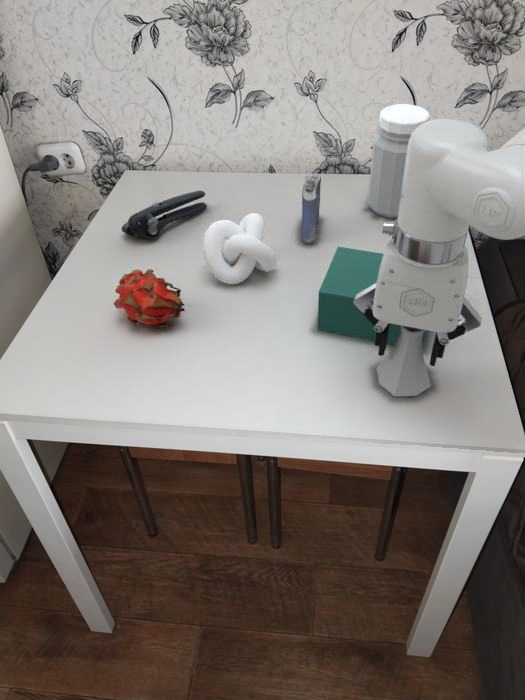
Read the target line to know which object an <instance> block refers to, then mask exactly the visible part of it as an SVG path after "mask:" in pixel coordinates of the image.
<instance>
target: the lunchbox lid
mask: <svg viewBox="0 0 525 700" xmlns="http://www.w3.org/2000/svg"><path fill="white" fill-rule="evenodd" d="M383 255H384V253H382V252H376V251H368V250H362V249H356V248H350V247H344V246H337V248H336V250H335V252H334V255H333V257H332V259H331V262H330V264H329V267H328V269H327V271H326V273H325V276H324V278H323V281H322V283H321V285H320V288H319V290H318V296H319V295H324V296H329V297H334V298H340V299H345V300H351V301H354V298H355V296H356V294H358V293H360V292H361V291H363V290H365V289H366V288H368V287H370V286H371V285H373V284H375V283H377V279H378V274H379V269H380V265H381V261H382V258H383ZM370 302H371V303H372V304H373V302H374V299H373V300H371V301H370Z"/></svg>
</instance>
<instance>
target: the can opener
mask: <svg viewBox="0 0 525 700" xmlns="http://www.w3.org/2000/svg"><path fill="white" fill-rule="evenodd" d="M205 196H206V192H205V191H204V190H195V191H191V192H187V193H183V194H180V195H176V196H174V197H173V196H172V197H170V198H168V199H165V200H163V201H160V202H158V201H153V203H152V204H151V205H150V206H148V207H146V208H144V209H142V210H139V211H138V212H135V213H134V214H132V215H130V216H129V218H128V219H127V221H126V222H125V223H124V224H123V225H122V226H121V231H122V232H123V233H124V234H125V235H127V236H129V237H138V238H140V239H144V240H154V239H156V238H158V237H159V236H160V234H161V232H162V230H163V229H164V228H165V227H166V226H167V225H169V224H170V223H173V222H176V221H179V220H182V219H186V218H189V217H192V216H194V215H196V214H198V213H200V212H202V211H204V210H205V209H206V208H207V207H208V205H207V204H206V203H205V202H202V201H200V202H197V203H193V204H191V205H187V204H190V203H192V202H195V201H197V200H200V199H203V198H204V197H205ZM185 205H187V206H185ZM182 206H185V207H182ZM180 207H181V208H180ZM178 208H179V209H178ZM161 215H162V216H161Z"/></svg>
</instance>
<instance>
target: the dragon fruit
mask: <svg viewBox="0 0 525 700" xmlns="http://www.w3.org/2000/svg"><path fill="white" fill-rule="evenodd" d="M118 284H119V285H117V286H116V288H115V293H116V294H118V295H119V297H118V298H117V299H115V301H114V302H113V305H114V307H115V308H116V309H124V311H125V314H126V317H127V319H128V321H129V322H130V323H131V324H132V325H133V326H137V325H138V324H139V322H140V323H141V324H144V325H147V326H150V327H154V328H156V329H157V328H165V327H168V326H171V324H169V323H166V322H167V321H168V320H171V319H175V318H177V319H179V318H180V316H181V312H186V309H185V307H183V306H185V303H183V301H182V298H180V296H181V292H182V290H181V288H178V287H176V286H174V285H173V283H171V282H168V281H167V282H166V279H164V277H157V276H156V274H155V273H154V270H153V269H146V271H145V272H143V271H142V270H141V269H133V270H132V271H131V272H130V273H124V274H123V275H122V277H121V278H120V279H119V281H118ZM167 287H169V288H170V289H169V288H167Z"/></svg>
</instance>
